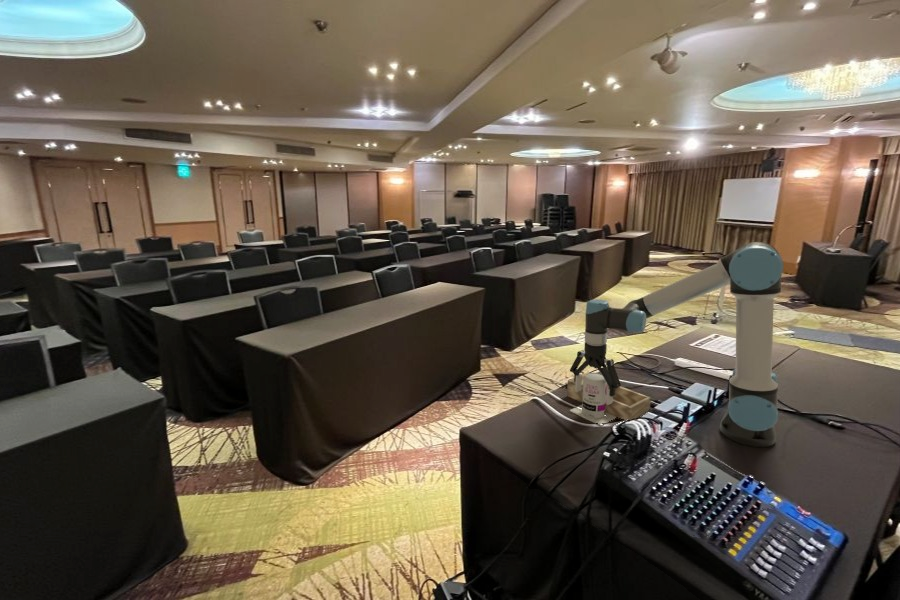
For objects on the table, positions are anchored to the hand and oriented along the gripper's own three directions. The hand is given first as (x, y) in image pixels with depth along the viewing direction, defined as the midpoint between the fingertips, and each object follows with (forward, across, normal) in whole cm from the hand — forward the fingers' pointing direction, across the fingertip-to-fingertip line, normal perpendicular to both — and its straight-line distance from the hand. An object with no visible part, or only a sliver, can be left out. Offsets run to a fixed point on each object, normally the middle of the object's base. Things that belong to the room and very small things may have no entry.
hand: (593, 397), depth 153 cm
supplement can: (+7, 0, 0) cm, 7 cm away
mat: (+7, 0, 0) cm, 7 cm away
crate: (+7, +2, -12) cm, 14 cm away
